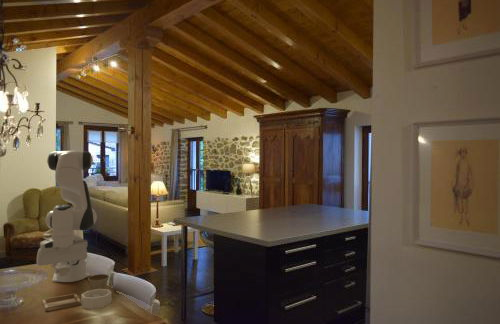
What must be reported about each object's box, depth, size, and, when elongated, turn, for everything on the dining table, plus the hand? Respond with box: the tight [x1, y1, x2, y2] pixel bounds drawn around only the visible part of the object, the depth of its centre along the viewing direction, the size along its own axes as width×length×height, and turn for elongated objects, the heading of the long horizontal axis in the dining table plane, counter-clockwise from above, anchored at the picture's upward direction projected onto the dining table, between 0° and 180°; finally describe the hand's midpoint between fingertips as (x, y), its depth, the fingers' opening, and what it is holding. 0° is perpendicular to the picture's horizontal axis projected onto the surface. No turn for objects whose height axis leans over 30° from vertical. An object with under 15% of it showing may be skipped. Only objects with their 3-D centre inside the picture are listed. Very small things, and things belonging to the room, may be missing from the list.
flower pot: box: [87, 273, 110, 290], centre depth 180 cm, size 9×9×9 cm
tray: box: [41, 292, 82, 312], centre depth 167 cm, size 12×14×2 cm
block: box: [58, 265, 67, 276], centre depth 165 cm, size 4×3×4 cm
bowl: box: [80, 288, 113, 310], centre depth 167 cm, size 12×12×5 cm
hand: (62, 272), depth 165 cm, fingers closed on block, 3 cm apart
